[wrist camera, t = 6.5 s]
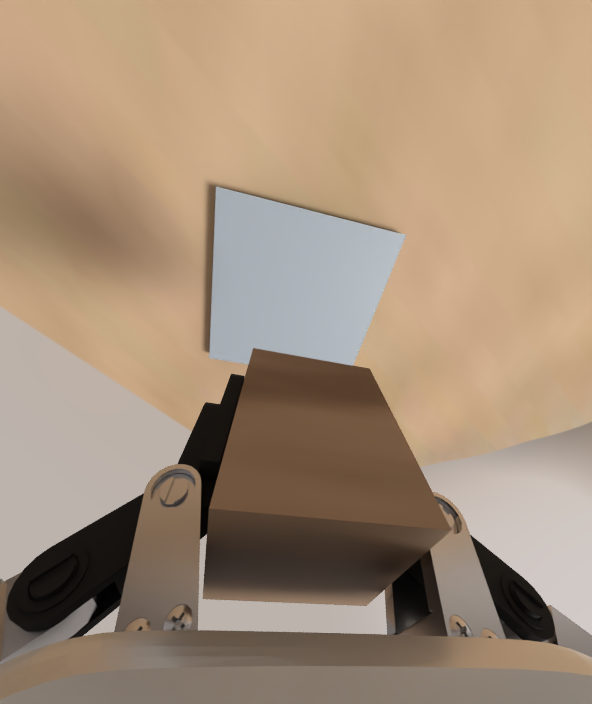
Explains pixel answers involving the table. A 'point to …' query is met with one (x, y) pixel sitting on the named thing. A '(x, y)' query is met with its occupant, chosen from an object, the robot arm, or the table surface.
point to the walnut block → (315, 489)
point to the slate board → (293, 280)
